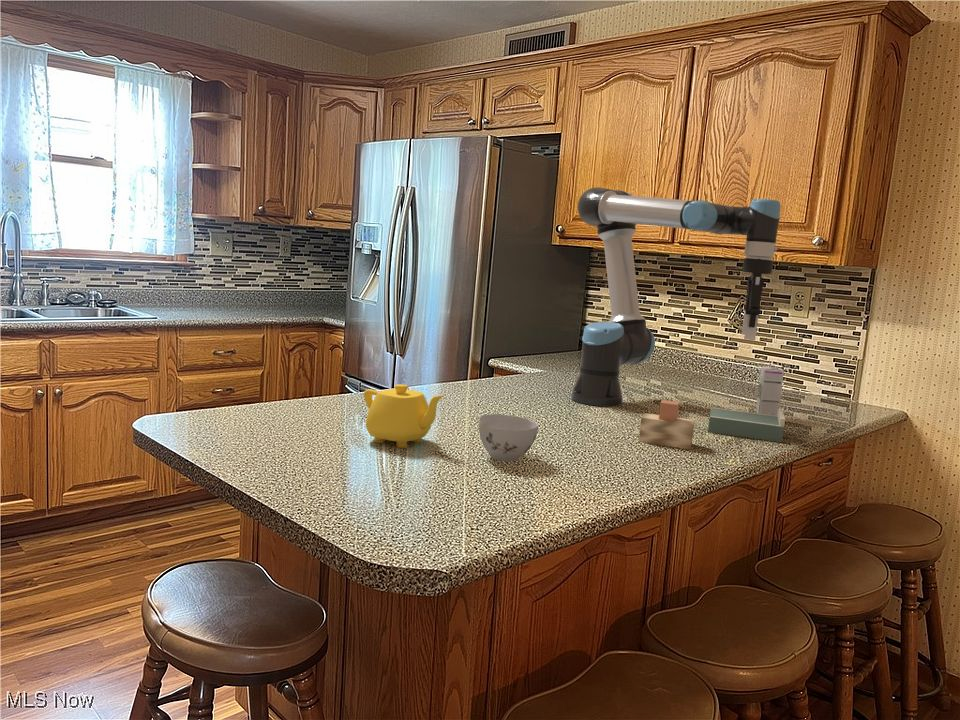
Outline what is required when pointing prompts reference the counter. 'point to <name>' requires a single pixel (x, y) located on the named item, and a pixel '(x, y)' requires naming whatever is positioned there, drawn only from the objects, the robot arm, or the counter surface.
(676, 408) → the orange cube
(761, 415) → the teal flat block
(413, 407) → the teapot
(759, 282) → the robot arm
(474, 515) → the counter surface
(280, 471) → the counter surface
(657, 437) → the tan rectangular block
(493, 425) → the teacup
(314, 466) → the counter surface
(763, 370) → the syrup box
